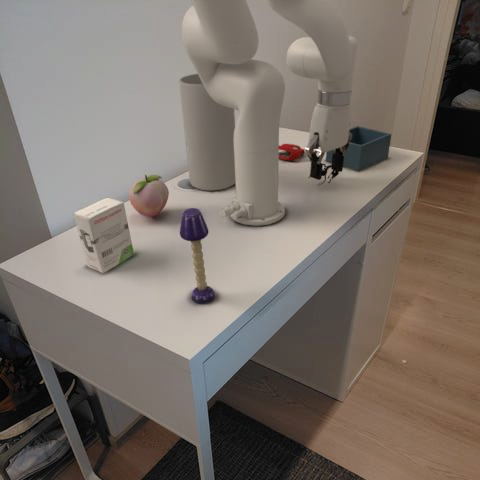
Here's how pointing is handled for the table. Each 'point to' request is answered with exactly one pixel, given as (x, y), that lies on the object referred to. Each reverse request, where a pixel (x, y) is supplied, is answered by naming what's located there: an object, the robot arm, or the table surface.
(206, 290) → the toy lamp
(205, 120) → the cylinder vase
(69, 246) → the table surface
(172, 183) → the table surface
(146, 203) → the decorative fruit
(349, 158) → the teal open box
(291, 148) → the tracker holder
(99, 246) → the ink box
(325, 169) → the creature
